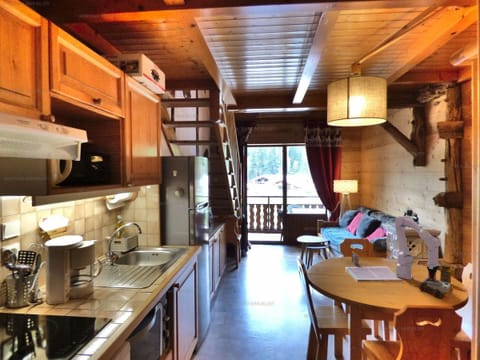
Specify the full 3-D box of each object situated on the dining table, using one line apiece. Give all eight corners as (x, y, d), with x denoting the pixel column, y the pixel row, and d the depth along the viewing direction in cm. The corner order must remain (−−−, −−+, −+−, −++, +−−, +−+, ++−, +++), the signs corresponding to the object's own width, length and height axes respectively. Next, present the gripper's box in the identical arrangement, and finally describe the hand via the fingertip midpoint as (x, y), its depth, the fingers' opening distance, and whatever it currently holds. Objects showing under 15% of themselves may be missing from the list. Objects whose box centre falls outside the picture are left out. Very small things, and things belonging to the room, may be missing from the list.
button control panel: (422, 287, 201) (422, 281, 201) (425, 282, 211) (425, 276, 210) (447, 292, 192) (447, 286, 192) (450, 287, 201) (450, 281, 201)
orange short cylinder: (428, 280, 201) (428, 270, 201) (428, 278, 205) (428, 269, 205) (436, 281, 199) (436, 271, 199) (435, 279, 203) (436, 270, 203)
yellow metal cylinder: (453, 283, 209) (453, 266, 208) (447, 286, 204) (448, 268, 204) (441, 280, 215) (442, 263, 214) (435, 282, 210) (436, 265, 210)
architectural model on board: (351, 261, 260) (351, 250, 260) (354, 261, 260) (354, 250, 260) (354, 265, 249) (354, 253, 249) (358, 265, 249) (358, 253, 248)
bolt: (441, 302, 183) (421, 291, 198) (447, 297, 184) (426, 287, 199) (438, 294, 182) (417, 284, 197) (444, 289, 183) (423, 280, 198)
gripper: (438, 260, 193) (438, 281, 194) (442, 255, 204) (441, 275, 205) (425, 258, 198) (425, 279, 198) (429, 253, 209) (429, 273, 209)
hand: (432, 277), depth 202 cm, fingers closed on orange short cylinder, 4 cm apart
